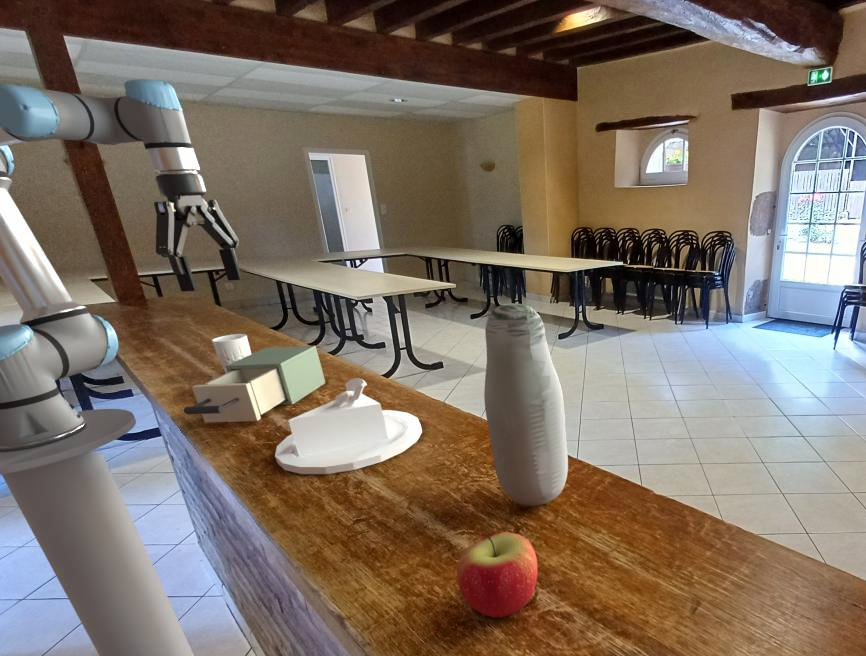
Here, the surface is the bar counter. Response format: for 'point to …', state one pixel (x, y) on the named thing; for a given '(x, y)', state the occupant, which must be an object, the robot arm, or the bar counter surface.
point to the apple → (498, 574)
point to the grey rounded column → (524, 407)
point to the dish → (346, 434)
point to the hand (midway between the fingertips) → (213, 285)
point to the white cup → (231, 348)
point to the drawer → (239, 395)
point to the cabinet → (288, 368)
